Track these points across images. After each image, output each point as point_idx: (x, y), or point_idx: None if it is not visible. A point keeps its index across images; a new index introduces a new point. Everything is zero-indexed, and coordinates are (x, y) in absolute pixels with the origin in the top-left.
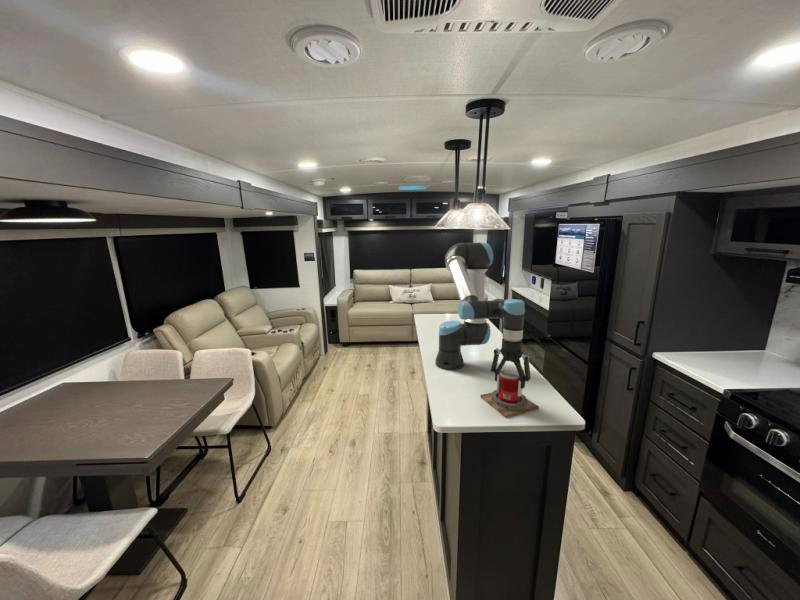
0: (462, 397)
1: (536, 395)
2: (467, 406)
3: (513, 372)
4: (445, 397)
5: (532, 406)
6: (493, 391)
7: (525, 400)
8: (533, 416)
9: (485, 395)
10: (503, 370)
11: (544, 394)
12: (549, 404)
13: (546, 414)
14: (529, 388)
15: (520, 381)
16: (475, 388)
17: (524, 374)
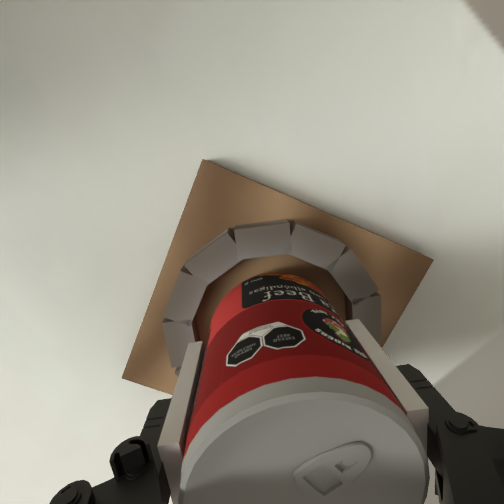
0: (64, 428)
1: (363, 93)
2: None
3: (311, 421)
4: (11, 482)
5: (404, 287)
6: (165, 338)
7: (371, 298)
8: (420, 337)
9: (144, 364)
10: (192, 481)
11: (403, 31)
12: (462, 154)
13: (470, 275)
14: (285, 15)
15: (435, 488)
16: (32, 301)
17: (495, 468)
